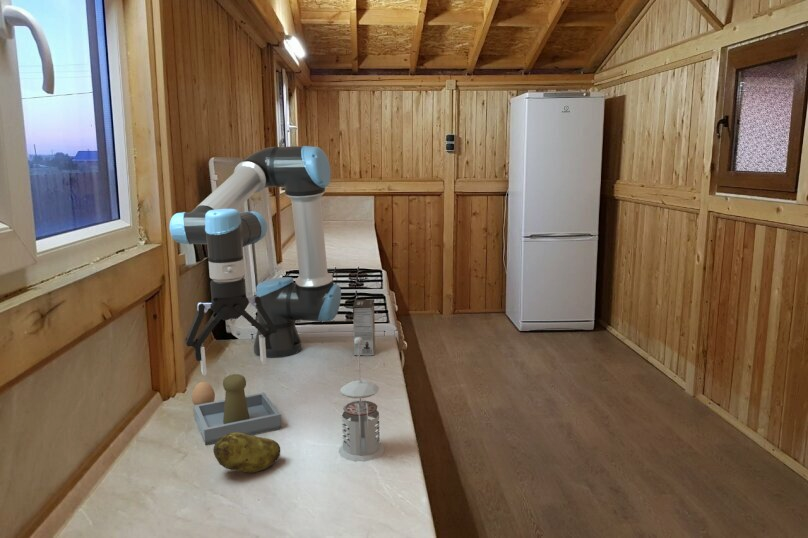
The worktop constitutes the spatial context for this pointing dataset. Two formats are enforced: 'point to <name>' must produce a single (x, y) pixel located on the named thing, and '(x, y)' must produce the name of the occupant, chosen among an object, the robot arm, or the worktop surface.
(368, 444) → the french press
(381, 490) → the worktop surface
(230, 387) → the cork
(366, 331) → the coffee box
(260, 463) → the potato
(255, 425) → the grey bin
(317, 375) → the worktop surface
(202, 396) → the egg
